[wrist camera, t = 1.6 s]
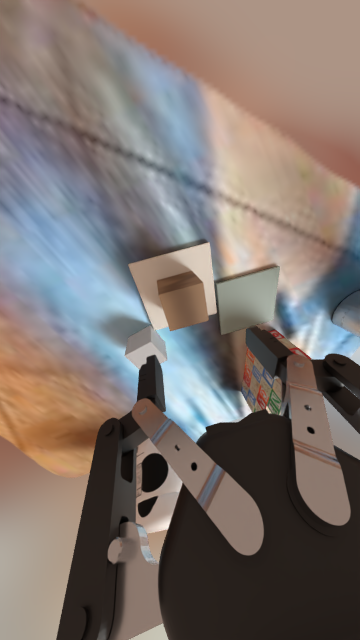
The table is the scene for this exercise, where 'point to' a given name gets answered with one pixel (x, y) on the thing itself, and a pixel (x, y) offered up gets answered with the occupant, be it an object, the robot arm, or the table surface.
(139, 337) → the grey block
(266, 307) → the grey-green mat
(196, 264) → the tile
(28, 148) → the table surface
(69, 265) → the table surface
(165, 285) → the walnut block
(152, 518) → the milk container
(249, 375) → the stack of blocks
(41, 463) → the table surface
